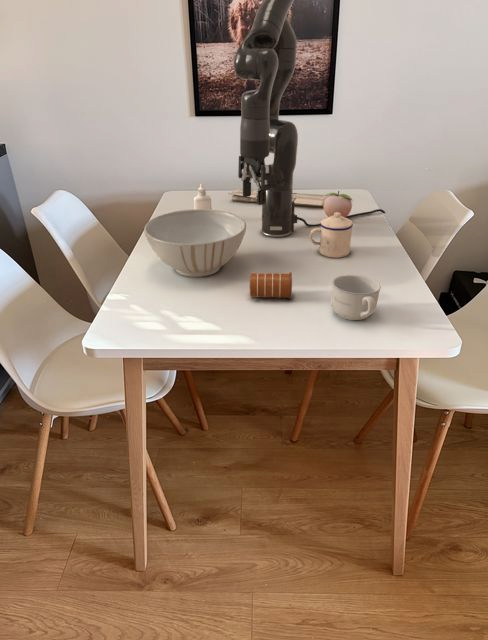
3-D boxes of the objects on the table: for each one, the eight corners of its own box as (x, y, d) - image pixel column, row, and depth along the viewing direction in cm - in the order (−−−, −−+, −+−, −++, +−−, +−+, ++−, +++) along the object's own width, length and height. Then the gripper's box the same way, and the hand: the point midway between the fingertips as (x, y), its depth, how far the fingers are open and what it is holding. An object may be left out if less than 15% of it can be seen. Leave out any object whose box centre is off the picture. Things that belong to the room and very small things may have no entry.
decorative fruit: (319, 224, 182) (321, 193, 177) (324, 216, 189) (326, 186, 183) (348, 226, 180) (351, 196, 174) (352, 218, 186) (355, 188, 181)
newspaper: (329, 199, 204) (329, 190, 202) (325, 210, 194) (325, 200, 192) (235, 194, 211) (235, 184, 209) (226, 204, 201) (226, 194, 199)
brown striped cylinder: (249, 302, 136) (249, 278, 132) (251, 291, 141) (251, 267, 138) (291, 303, 135) (292, 279, 132) (290, 291, 141) (291, 268, 137)
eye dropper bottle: (209, 222, 184) (208, 186, 178) (193, 221, 185) (191, 185, 179) (213, 218, 188) (211, 182, 181) (197, 217, 189) (195, 181, 182)
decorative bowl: (209, 298, 138) (207, 252, 132) (128, 274, 150) (122, 231, 144) (264, 260, 157) (264, 218, 151) (188, 242, 169) (185, 203, 163)
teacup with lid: (347, 246, 166) (350, 207, 160) (352, 258, 158) (356, 218, 152) (306, 246, 166) (308, 208, 159) (310, 259, 158) (312, 219, 152)
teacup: (325, 304, 135) (327, 273, 130) (369, 302, 135) (373, 271, 131) (338, 333, 123) (341, 301, 119) (386, 331, 124) (391, 298, 119)
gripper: (281, 140, 138) (279, 205, 146) (255, 130, 149) (254, 191, 157) (254, 142, 135) (253, 209, 143) (229, 132, 146) (229, 195, 154)
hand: (254, 200), depth 150 cm, fingers open, 8 cm apart
